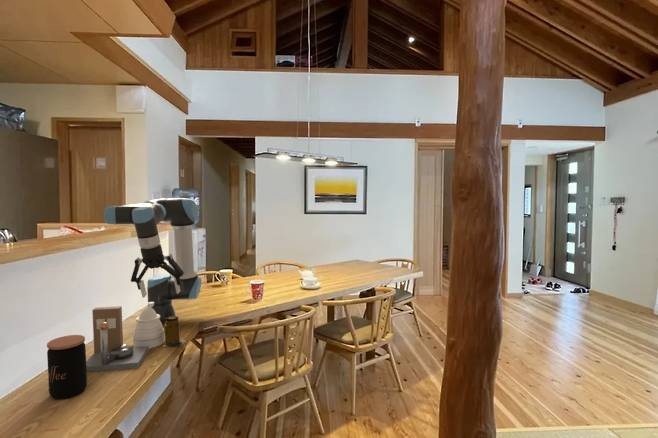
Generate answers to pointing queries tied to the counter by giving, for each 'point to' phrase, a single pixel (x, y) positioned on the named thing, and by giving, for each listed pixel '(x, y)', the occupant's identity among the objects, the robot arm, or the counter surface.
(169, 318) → the condiment
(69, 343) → the coffee jar
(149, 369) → the counter surface
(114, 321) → the stand
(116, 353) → the ball top joystick
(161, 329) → the honey pot
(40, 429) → the counter surface
